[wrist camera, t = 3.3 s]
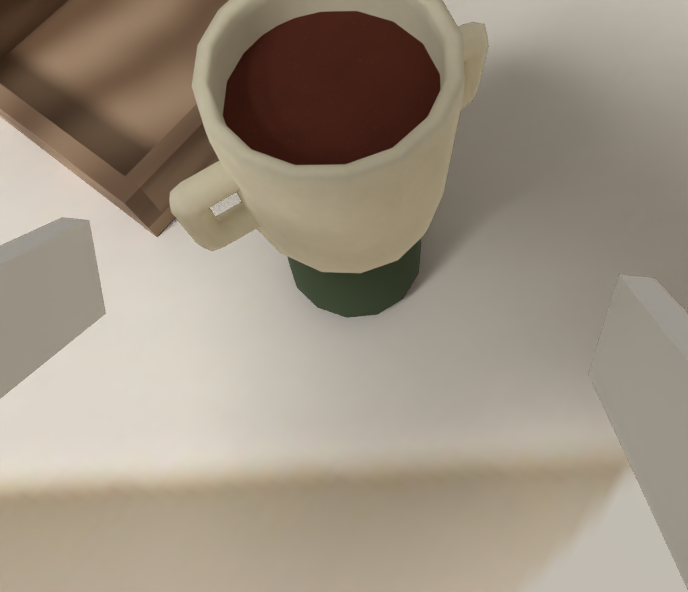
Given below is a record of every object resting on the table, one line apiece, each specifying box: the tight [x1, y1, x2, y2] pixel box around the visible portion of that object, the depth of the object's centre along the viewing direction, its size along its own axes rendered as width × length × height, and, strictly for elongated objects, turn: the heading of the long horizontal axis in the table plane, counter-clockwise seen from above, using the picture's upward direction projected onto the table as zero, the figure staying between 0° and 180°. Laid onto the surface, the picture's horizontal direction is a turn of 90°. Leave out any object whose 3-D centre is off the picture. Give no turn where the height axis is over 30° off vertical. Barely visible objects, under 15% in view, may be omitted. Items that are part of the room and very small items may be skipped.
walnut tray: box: [0, 0, 229, 237], centre depth 29 cm, size 16×16×4 cm
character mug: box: [169, 0, 489, 317], centre depth 19 cm, size 11×7×13 cm, turn 121°
